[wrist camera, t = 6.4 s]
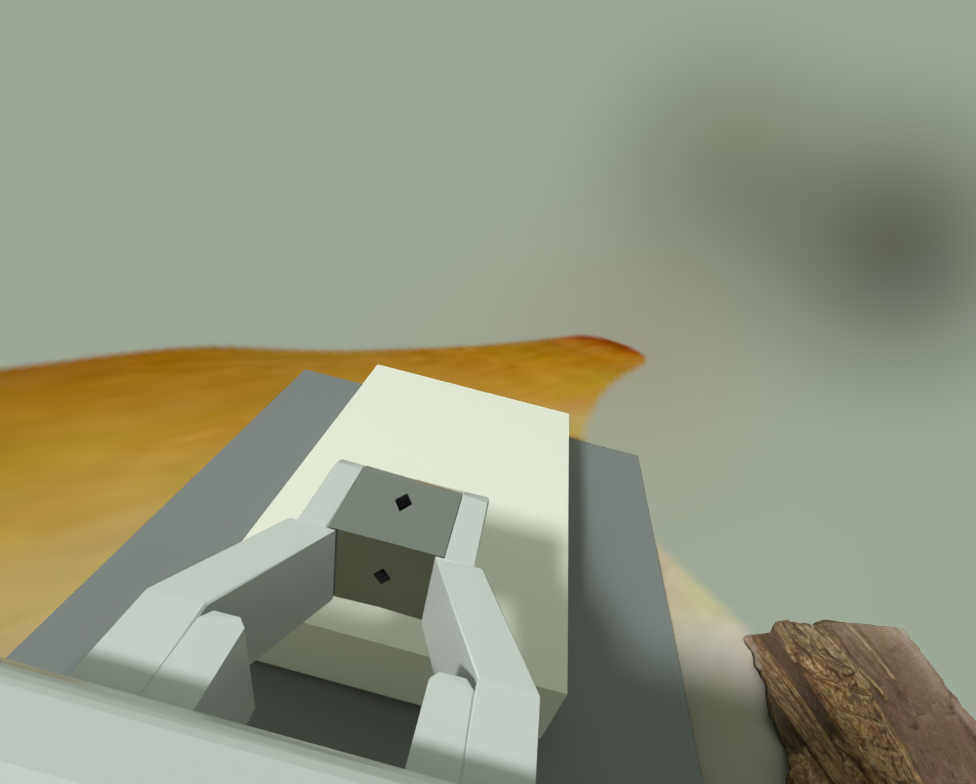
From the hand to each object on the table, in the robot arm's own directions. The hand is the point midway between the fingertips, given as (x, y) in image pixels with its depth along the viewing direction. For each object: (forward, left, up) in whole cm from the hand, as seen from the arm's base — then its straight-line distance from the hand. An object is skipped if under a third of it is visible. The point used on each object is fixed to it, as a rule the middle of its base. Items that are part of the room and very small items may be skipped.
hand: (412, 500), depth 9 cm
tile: (0, +1, -6) cm, 6 cm away
